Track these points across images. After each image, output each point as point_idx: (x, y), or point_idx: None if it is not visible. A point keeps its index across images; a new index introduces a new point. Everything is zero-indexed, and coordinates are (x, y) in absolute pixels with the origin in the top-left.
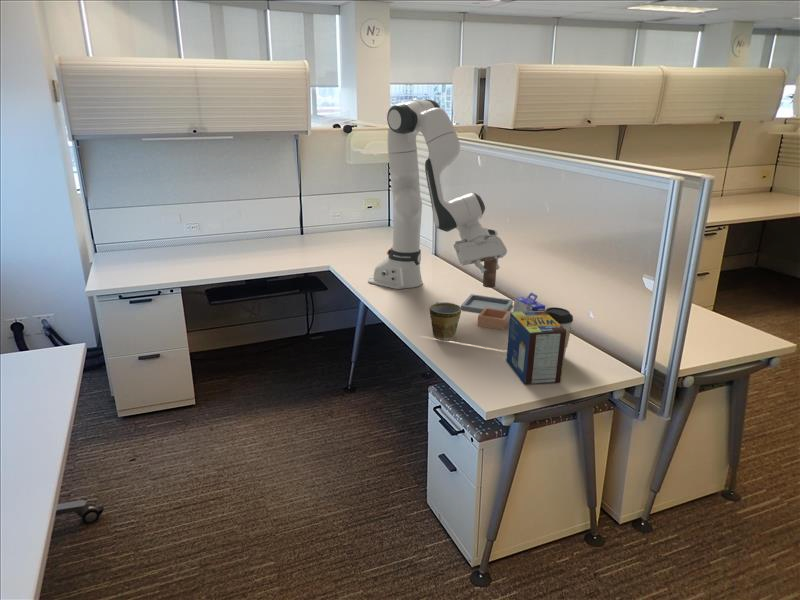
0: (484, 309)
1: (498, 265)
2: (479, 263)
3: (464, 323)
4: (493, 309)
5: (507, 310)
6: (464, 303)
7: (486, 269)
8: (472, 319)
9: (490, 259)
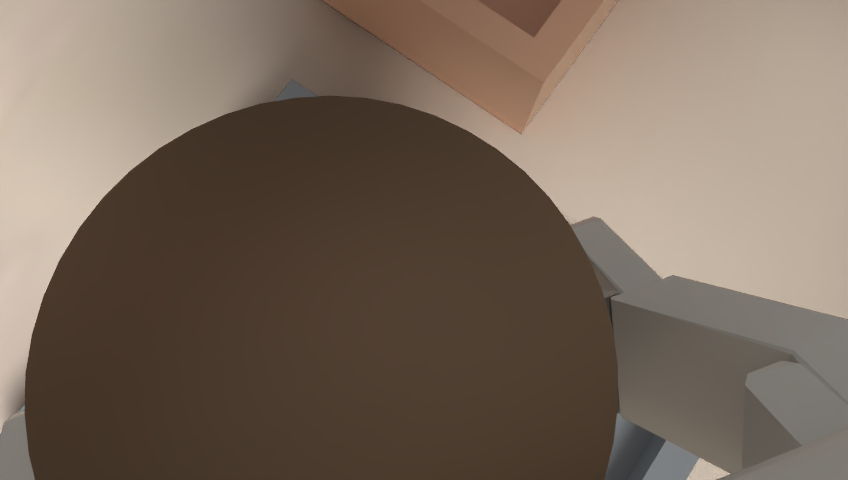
0: (570, 20)
1: (9, 448)
2: (797, 323)
3: (758, 47)
4: (463, 1)
5: None
6: (673, 457)
7: None
8: (650, 126)
9: (360, 301)
